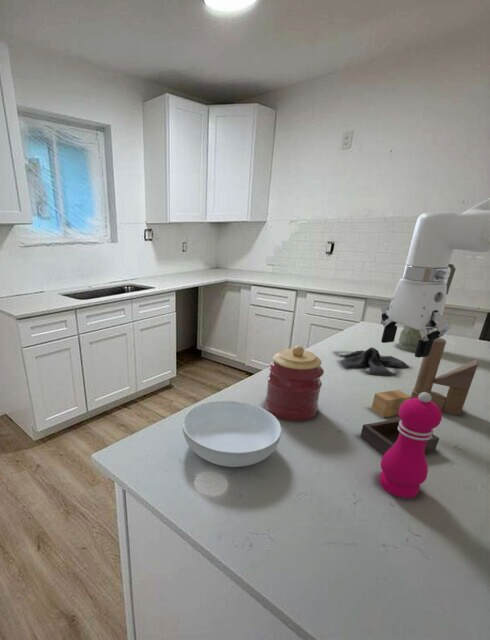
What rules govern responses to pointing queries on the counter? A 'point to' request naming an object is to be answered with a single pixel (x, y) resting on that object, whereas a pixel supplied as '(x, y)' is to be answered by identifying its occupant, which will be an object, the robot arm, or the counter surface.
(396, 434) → the socket
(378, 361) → the cloth
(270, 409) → the kitchen canister
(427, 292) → the robot arm
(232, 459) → the serving bowl
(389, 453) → the pepper mill
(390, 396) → the tan rectangular block
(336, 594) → the counter surface
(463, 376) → the wooden block structure
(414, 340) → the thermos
